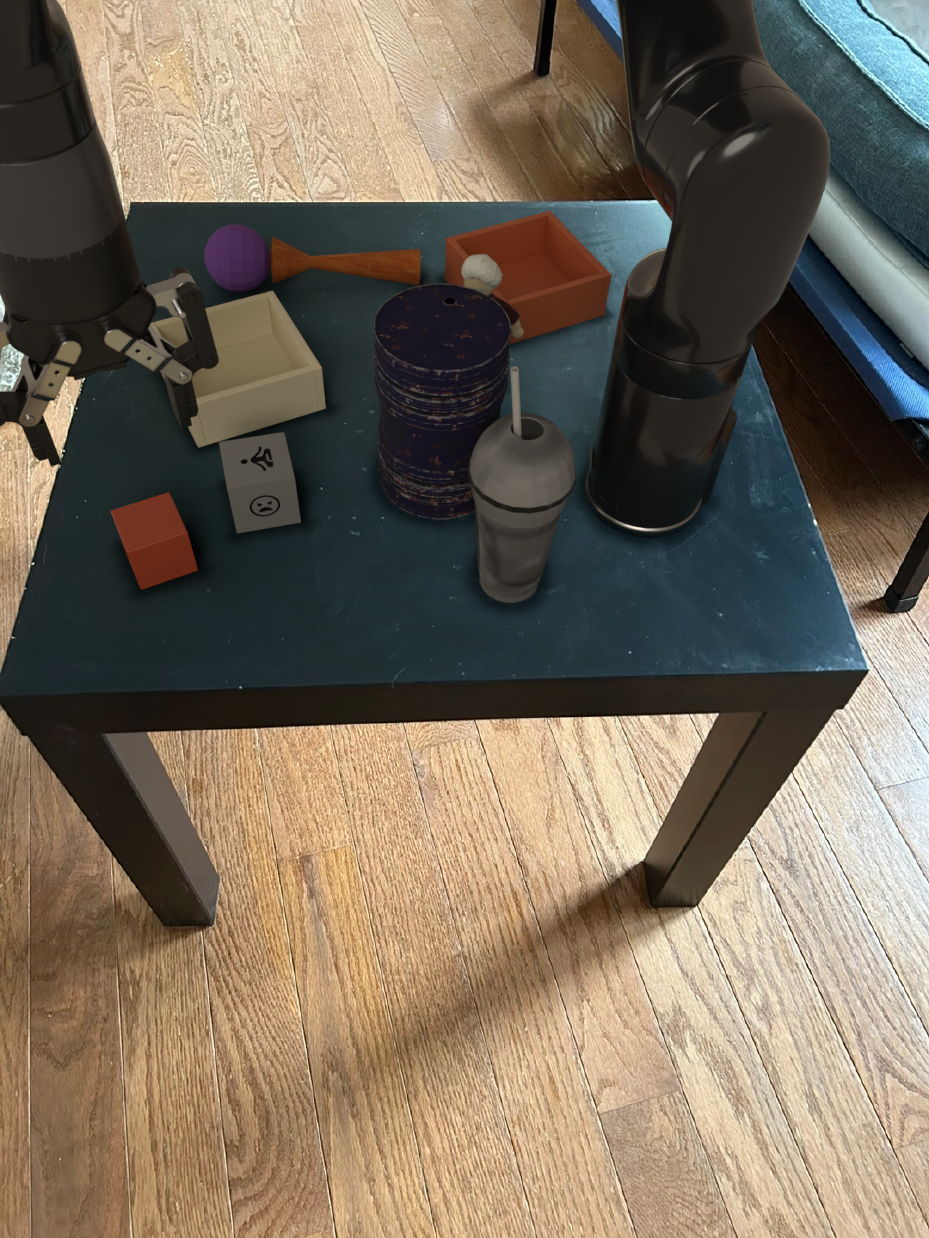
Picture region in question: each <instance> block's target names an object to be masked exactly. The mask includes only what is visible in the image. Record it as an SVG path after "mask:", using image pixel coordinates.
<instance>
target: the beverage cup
mask: <svg viewBox="0 0 929 1238" xmlns="http://www.w3.org/2000/svg"><path fill="white" fill-rule="evenodd" d="M509 370H510V389H511V411H512V413H510V414H507V415H505V416H503V417H500V419H499V420H497V421H495V422H494V423H493V424H492V425H491V426H489V427H488V428H487V429H486V430H485V431H484V432H483V433H482V435H481V436H480V438H479V440H478V442H477V444H476V446H475V447H474V450H473V453H472V457H471V459H470V461H469V464H468V478H469V481H470V485H471V490H472V495H473V498H474V501H475V511H474V516H475V517H474V519H475V532H476V533H475V537H476V539H475V540H476V555H477V556H476V557H477V570H478V575H479V584H480V586H481V589H482V590H483V591H484V593H485V594H486V595H487V596H489V597H490V598H491V599H493V600H495V601H498V602H500V603H501V602H502V603H507V604H508V603H509V604H515V603H519V602H523V601H525V600H527V599H529V598H531V597H532V595H533V594H535V592H536V591H537V588H538V586H539V582H540V580H541V578H542V575H543V573H544V571H545V566H546V564H547V560H548V557H549V554H550V550H551V548H552V543H553V540H554V537H555V535H556V530H557V527H558V524H559V521H560V517H561V514H562V511H563V510H564V508H565V505H566V504H567V502H568V499H569V497H570V496H571V494H572V493H573V490H574V488H575V486H576V483H577V481H576V480H577V476H576V472H577V471H576V465H575V455H574V454H575V453H574V451H573V448H572V446H571V443H570V441H569V439H568V437H567V435H566V434H565V432H563V431H562V429H561V428H560V427H558V425H557V424H555V423H554V422H553V421H551V420H550V419H548V418H546V417H544V416H542V415H540V414H539V415H538V414H535V413H532V412H522V411H521V410H522V409H521V391H520V389H521V388H520V369H519V367H518V366H511V367H510V368H509Z"/></svg>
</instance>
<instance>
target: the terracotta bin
mask: <svg viewBox="0 0 929 1238" xmlns="http://www.w3.org/2000/svg"><path fill="white" fill-rule="evenodd" d="M478 254H486V255H488V256H489V257H490V258H491V259H492V260H493V261H495V262H496V263H497V265H498V266H499V268H500V270H501V273H502V275H503V276H502V280H501V283H500V284H499V285H498V286H497V287H496V288H494V290H493V292H492V294H494V295H495V296H496V297H498V298H500V299H502V300H503V301H505V302H507V303H508V304H509V305H510V306H511V307H512V308H513V309H514V310H515V311H516V312H518V314H519V315H520V317H519V321H520V323H521V327H522V329H523V331H524V334H523V336H522V337H521V338H518V339H517V338H514V337H513V335H512V333H511V336H510V344H509V345H513V344H516V343H519V342H521V341H525V340H528V339H532V338H534V337H535V338H536V337H539V336H542V335H544V334H549V333H551V332H555V331H558V330H561V329H565V328H567V327H571V326H574V325H579V324H581V323H584V322H587V321H591V320H594V319H598V318H600V317H604V316H605V314H606V308H607V303H608V297H609V292H610V286H611V282H612V281H611V280H612V277H613V276H612V275H613V274H612V273H611V272H610V271H609V270H608V269H607V268H606V267H605V266H604V265H603V264H602V263H601V262H600V261H599V260H598V259H597V257H595V255H593V253H592V252H590V251H589V249H587V247H586V246H585V245H584V244H583V243H582V242H581V241H580V240H579V239H578V238H577V237H576V236H575V235H574V233H573V232H571V231H570V230H569V228H568V227H567V226H566V225H565V224H564V223H563V222H562V221H561V220H560V219H559V218H558V217H557V216H556V215H555V214H554V213H553V212H552V211H551V210H547V211H543V212H539V213H536V214H535V213H534V214H531V215H527V216H524V217H520V218H516V219H513V220H509V221H505V222H501V223H497V224H494V225H490V226H486V227H482V228H478V229H473V230H471V231H467V232H462V233H460V234H455V235H451V236H448V237H446V238H445V262H444V263H445V265H444V279H445V281H446V282H447V284H453V285H459V286H464V278H463V276H462V266H463V263H464V262H465V260H466V259H467V258H468V257H469V256H471V255H478Z"/></svg>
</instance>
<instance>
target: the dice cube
mask: <svg viewBox="0 0 929 1238" xmlns="http://www.w3.org/2000/svg"><path fill="white" fill-rule="evenodd" d="M218 445H219V451H220V456H221V462H222V463H221V464H222V468H223V473H224V480H225V484H226V490H227V494H228V499H229V504H230V508H231V513H232V518H233V522H234V526H235V531H236V534H243V533H248V532H253V531H259V530H264V529H265V530H266V529H271V528H277V527H282V526H288V525H294V524H300V523H302V520H301V519H302V518H301V512H300V504H299V500H298V498H299V497H298V492H297V483H296V477H295V472H294V469H293V465H292V460H291V456H290V455H291V454H290V451H289V447H288V442H287V440H286V434H285V432H284V431H282V432H276V433H269V434H263V435H256V436H249V437H244V438H237V439H236V438H235V439H231V440H222V441H219V442H218Z"/></svg>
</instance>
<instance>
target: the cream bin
mask: <svg viewBox="0 0 929 1238" xmlns="http://www.w3.org/2000/svg"><path fill="white" fill-rule="evenodd" d="M205 309H206V313H207V317H208V320H209V324H210V328H211V332H212V335H213V339H214V343H215V346H216V350H217V354H218V358H219V362H218V364H217V365H216V366H215V367H214V368H212V369H205V368H202V369H200V370H198V371H197V372H196V373H195V374H194V375H193V378H192V383H193V387H194V392H195V396H196V401H197V405H198V413H197V416H195V417H192V418H191V422H192V426H189V427H187V428H188V430H189V432H190V435H191V436H192V438H193V440H194V442H195V444H196V446H197V448H203V447H206V446H209V445H212V444H215V443H219V442H223V441H226V440H228V439H232V438H235V437H238V436H241V435H244V434H248V433H251V432H254V431H258V430H261V429H264V428H267V427H271V426H274V425H277V424H280V423H283V422H286V421H287V422H288V421H290V420H293V419H296V418H300V417H303V416H307V415H309V414H313V413H316V412H319V411H323V410H326V409H327V404H326V395H325V385H324V375H323V374H324V373H323V367H322V366H321V364H320V362H319V360H318V359H317V357H316V356H315V355H314V352H313V351H312V350H311V348H310V346H309V345H308V343H307V342H306V340H305V339H304V337H303V335H302V333H301V332H300V331H299V329H298V328H297V326H296V325H295V323H294V321H293V320H292V318H291V316H290V315H289V313H288V312H287V310H286V309H285V307H284V306H283V304H282V303H281V301H280V299H279V298H278V296H277V294H276V293H275V291H274V290H269V291H266V292H263V293H259V294H254V295H251V296H247V297H244V298H239V299H235V300H232V301H228V302H224V303H220V304H217V305H213V306H210V307H205ZM150 326H151V327H152V328H153V329H154V330H155V331H156V332H157V333H158V334H159V335H160V336H162V337H163V338H165V339H166V340H168V341H169V342H171V343H172V344H174V345H175V346H177V347H179V346H181V345H182V344H184V343H186V342H187V341H188V339H187V335H186V332H185V329H184V325H183V322H182V319H181V318H179V317H174V316H172V317H167V318H164V319H160V320H156V321H152V322H151V324H150ZM160 374H161V376H162V377H163V380H164V381H165V378H164V375H163V374H162V373H160Z"/></svg>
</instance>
